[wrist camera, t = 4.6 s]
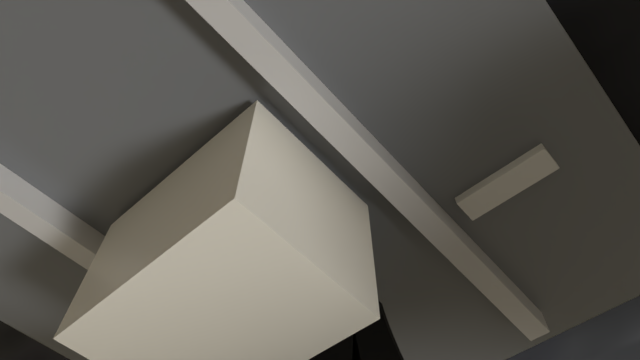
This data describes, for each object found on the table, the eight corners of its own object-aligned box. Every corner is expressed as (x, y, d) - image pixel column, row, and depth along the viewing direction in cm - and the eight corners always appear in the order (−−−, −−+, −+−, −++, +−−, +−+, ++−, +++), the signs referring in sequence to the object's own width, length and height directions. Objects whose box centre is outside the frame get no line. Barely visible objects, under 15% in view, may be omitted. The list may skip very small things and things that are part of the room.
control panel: (667, 206, 14) (729, 278, 12) (274, 415, 19) (269, 491, 17) (57, -716, 6) (-80, -980, 4) (-311, 47, 12) (-454, 101, 10)
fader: (368, 205, 11) (379, 318, 9) (222, 304, 13) (198, 422, 10) (257, 100, 10) (234, 198, 7) (110, 224, 12) (52, 339, 9)
